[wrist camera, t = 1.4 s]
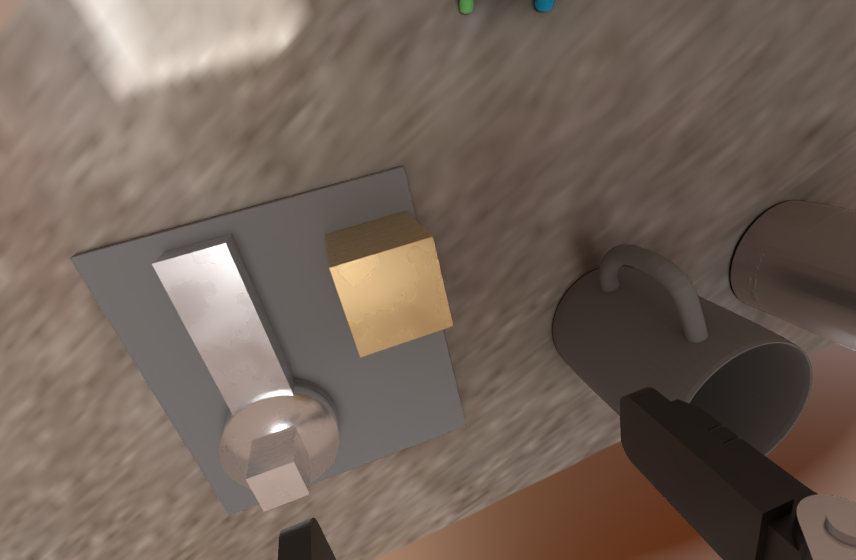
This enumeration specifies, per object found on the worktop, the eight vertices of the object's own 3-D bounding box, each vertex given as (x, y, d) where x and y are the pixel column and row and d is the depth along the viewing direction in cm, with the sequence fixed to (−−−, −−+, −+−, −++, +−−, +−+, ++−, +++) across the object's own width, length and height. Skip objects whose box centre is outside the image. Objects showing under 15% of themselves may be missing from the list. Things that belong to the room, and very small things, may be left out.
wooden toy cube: (405, 210, 25) (433, 236, 20) (424, 284, 27) (453, 325, 22) (324, 234, 25) (329, 268, 19) (349, 308, 27) (360, 357, 21)
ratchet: (262, 224, 24) (251, 253, 19) (349, 441, 30) (357, 505, 25) (130, 261, 22) (81, 303, 18) (251, 477, 29) (239, 551, 24)
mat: (401, 165, 25) (404, 166, 24) (463, 420, 33) (466, 425, 33) (75, 254, 22) (69, 257, 22) (230, 508, 30) (229, 515, 30)
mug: (663, 328, 35) (820, 423, 24) (571, 387, 35) (689, 509, 24) (620, 186, 29) (802, 228, 19) (509, 254, 29) (629, 338, 18)
